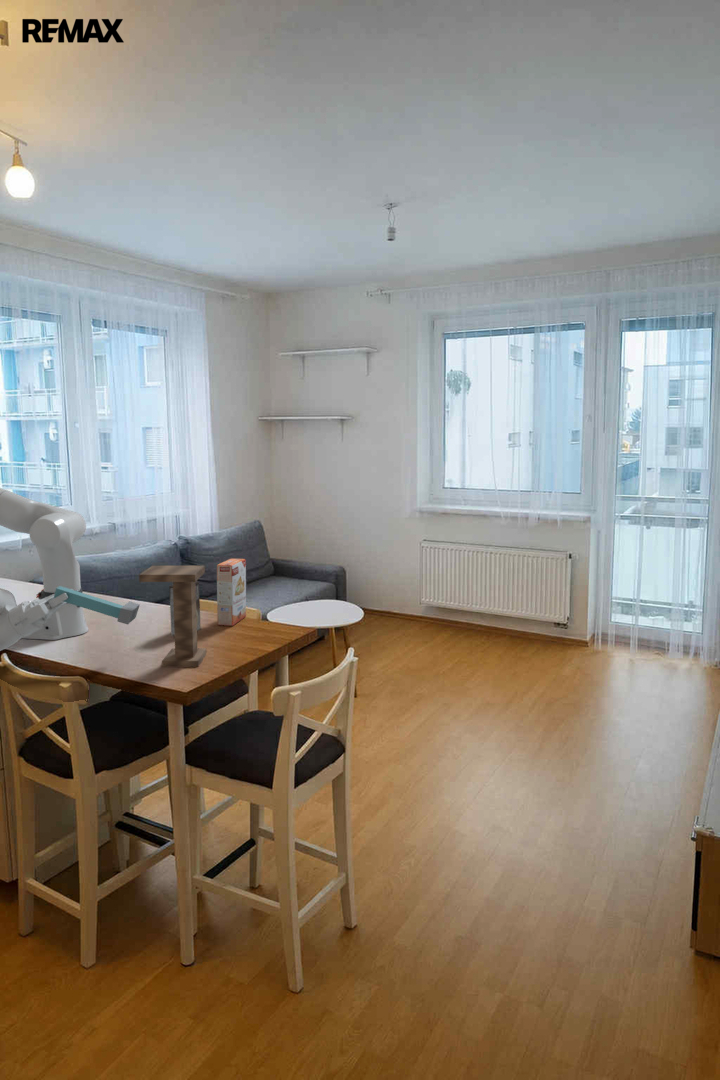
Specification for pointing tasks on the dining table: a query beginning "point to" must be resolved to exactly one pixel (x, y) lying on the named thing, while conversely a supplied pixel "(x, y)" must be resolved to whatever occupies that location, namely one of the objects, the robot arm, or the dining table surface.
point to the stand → (181, 612)
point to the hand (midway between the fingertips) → (70, 593)
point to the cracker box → (231, 591)
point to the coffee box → (196, 608)
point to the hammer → (100, 605)
